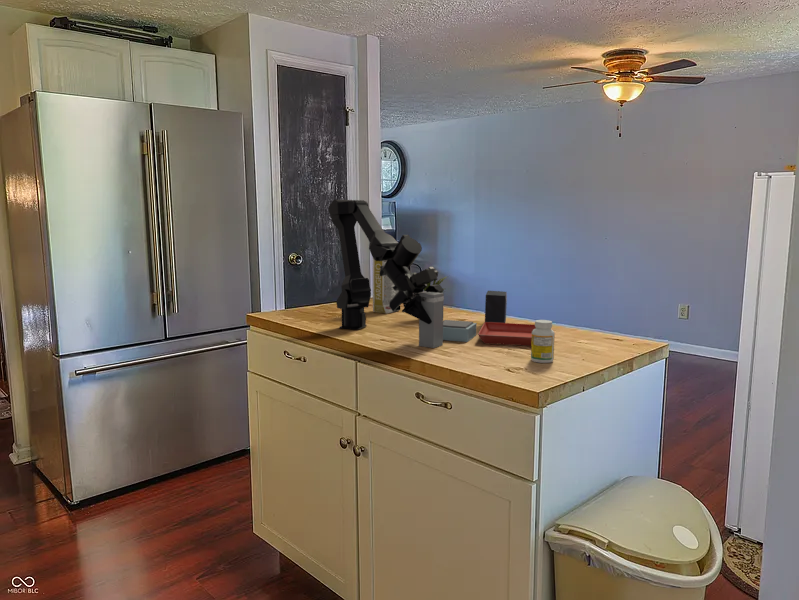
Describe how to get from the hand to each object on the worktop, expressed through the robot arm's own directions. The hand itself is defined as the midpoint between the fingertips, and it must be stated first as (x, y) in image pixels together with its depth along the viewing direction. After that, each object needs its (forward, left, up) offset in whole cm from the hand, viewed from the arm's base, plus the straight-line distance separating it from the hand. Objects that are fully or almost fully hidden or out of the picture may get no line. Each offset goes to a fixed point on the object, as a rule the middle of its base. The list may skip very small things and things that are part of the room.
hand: (435, 321), depth 159 cm
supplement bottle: (+29, -6, -7) cm, 30 cm away
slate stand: (+2, +13, -7) cm, 15 cm away
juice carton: (-33, +47, -7) cm, 58 cm away
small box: (+9, +35, -7) cm, 37 cm away
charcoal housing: (-1, 0, -7) cm, 7 cm away
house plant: (-15, +37, -7) cm, 41 cm away
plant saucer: (+18, +16, -7) cm, 25 cm away
